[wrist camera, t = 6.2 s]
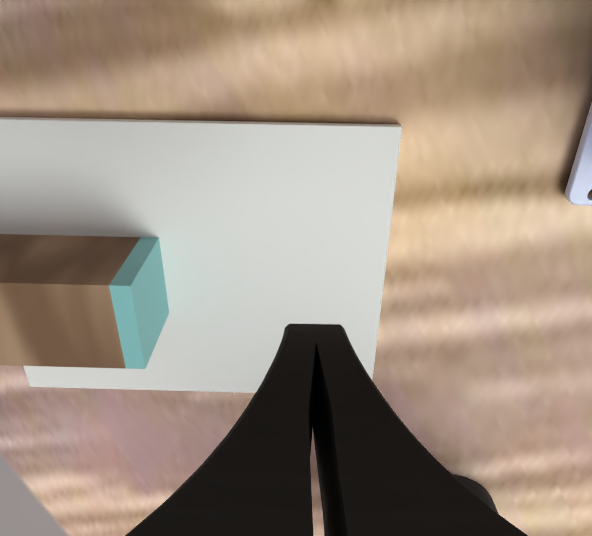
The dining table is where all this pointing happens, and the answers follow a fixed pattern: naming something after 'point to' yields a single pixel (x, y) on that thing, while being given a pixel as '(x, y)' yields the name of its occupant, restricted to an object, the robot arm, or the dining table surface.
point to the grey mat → (216, 231)
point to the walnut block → (80, 300)
